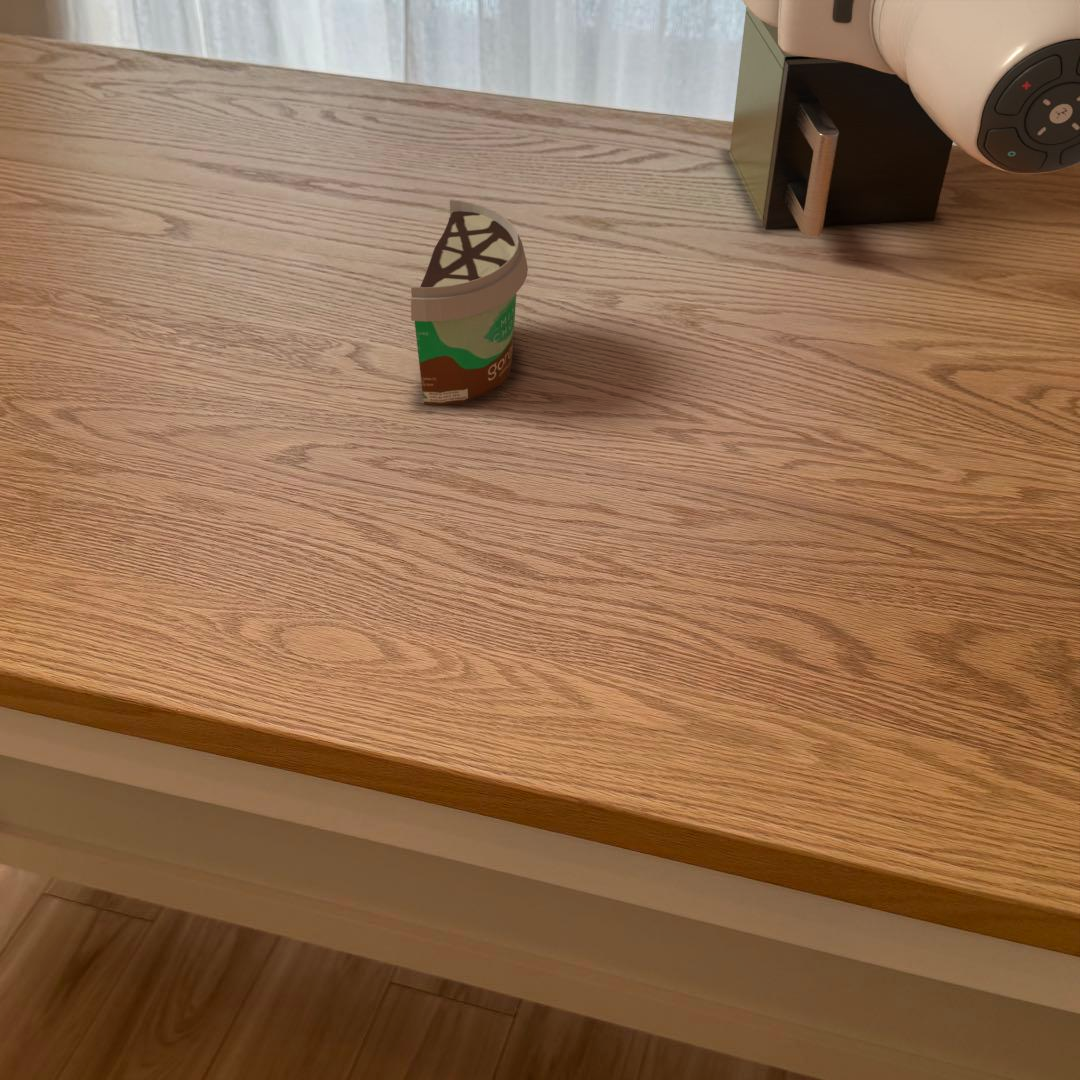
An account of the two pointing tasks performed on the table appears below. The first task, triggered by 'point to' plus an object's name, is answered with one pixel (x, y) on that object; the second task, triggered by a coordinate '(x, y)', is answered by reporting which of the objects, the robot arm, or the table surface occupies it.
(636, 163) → the table surface
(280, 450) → the table surface
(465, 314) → the food container
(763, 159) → the olive green small cabinet
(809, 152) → the black cabinet door
